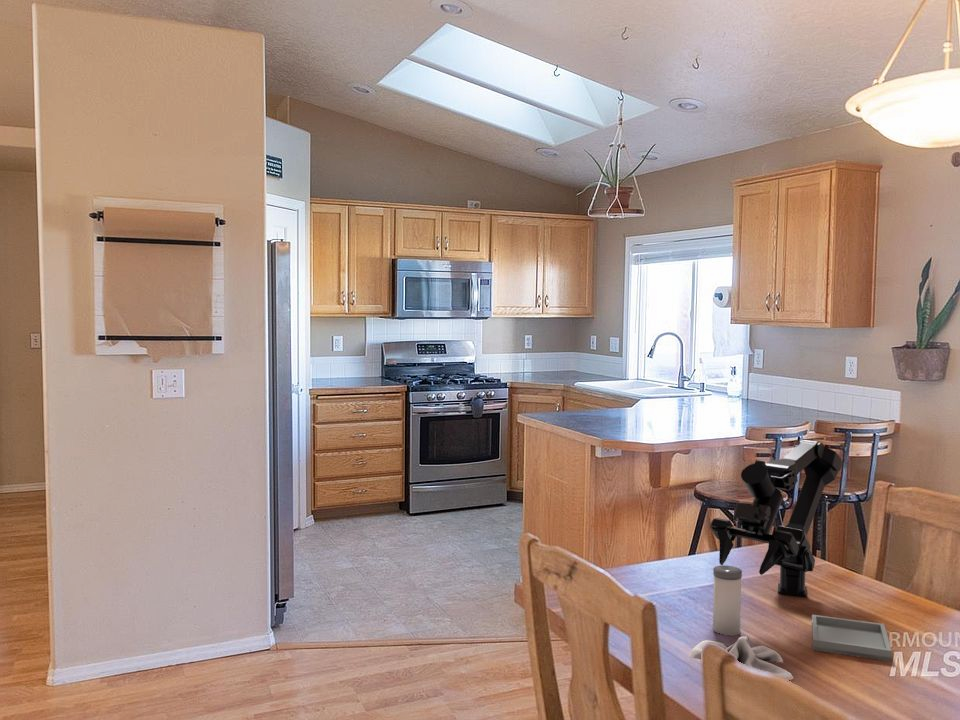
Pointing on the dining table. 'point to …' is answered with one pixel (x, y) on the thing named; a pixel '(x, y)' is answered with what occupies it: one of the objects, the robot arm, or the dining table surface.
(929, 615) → the dining table surface
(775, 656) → the cloth
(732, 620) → the shaker
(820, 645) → the tray
